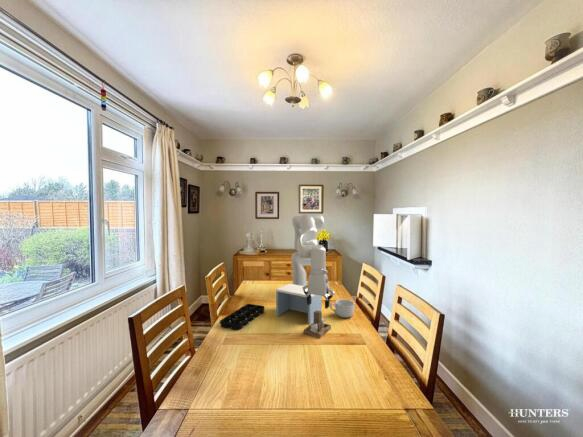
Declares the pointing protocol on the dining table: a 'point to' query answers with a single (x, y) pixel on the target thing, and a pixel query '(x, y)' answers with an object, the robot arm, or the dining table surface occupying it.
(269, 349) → the dining table surface
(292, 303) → the white step stool
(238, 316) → the egg carton
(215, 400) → the dining table surface
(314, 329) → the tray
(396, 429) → the dining table surface
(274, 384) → the dining table surface
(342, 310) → the teacup
